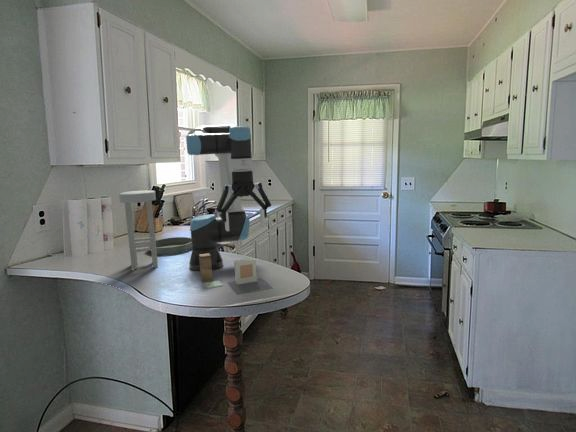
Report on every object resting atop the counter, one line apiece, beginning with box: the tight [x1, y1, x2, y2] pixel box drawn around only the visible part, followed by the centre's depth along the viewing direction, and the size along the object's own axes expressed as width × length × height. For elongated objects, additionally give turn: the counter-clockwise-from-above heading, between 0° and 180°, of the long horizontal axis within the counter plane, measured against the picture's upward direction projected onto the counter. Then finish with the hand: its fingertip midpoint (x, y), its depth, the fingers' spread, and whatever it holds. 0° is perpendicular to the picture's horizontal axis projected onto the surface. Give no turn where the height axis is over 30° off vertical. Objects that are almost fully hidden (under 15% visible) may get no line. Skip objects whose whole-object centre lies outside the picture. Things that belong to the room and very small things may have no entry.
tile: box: [233, 257, 258, 285], centre depth 163 cm, size 3×8×9 cm, turn 112°
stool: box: [119, 189, 159, 270], centre depth 193 cm, size 16×16×35 cm
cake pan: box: [148, 236, 192, 255], centre depth 226 cm, size 25×25×4 cm
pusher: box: [199, 253, 214, 283], centre depth 168 cm, size 4×4×11 cm
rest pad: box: [203, 280, 223, 290], centre depth 162 cm, size 6×6×1 cm
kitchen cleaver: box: [218, 241, 236, 249], centre depth 234 cm, size 24×1×10 cm
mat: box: [227, 276, 273, 295], centre depth 159 cm, size 15×14×1 cm
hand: (245, 228), depth 152 cm, fingers open, 13 cm apart
